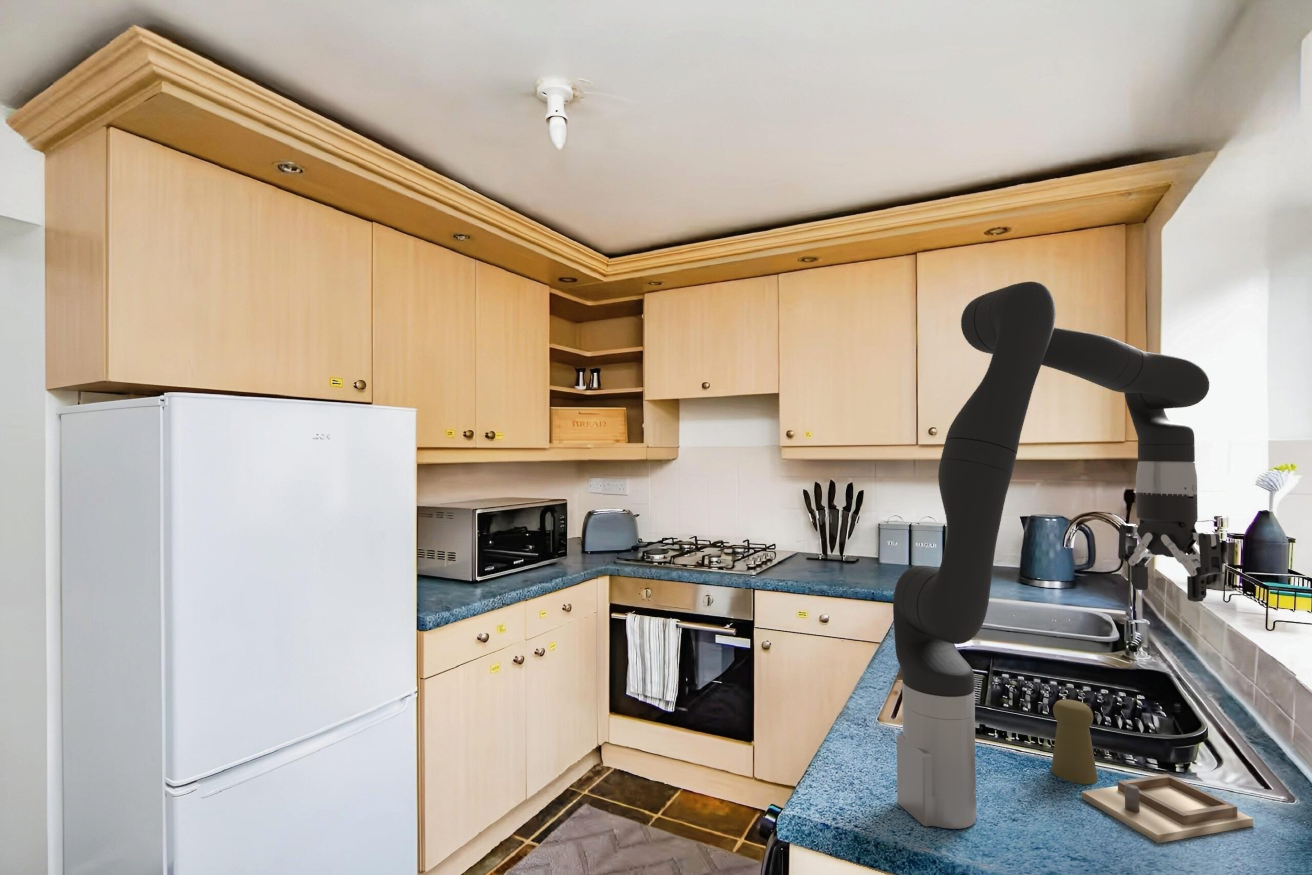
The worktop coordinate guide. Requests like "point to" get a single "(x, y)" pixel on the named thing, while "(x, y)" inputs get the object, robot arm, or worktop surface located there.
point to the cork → (1073, 743)
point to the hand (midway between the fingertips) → (1167, 595)
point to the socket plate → (1167, 808)
